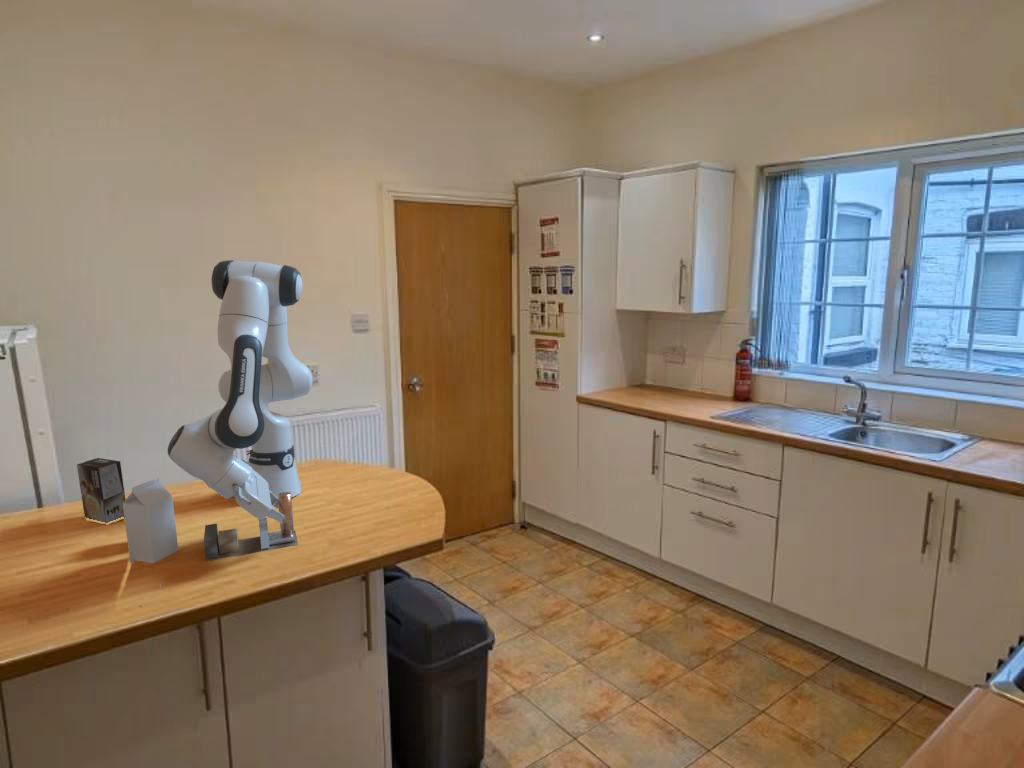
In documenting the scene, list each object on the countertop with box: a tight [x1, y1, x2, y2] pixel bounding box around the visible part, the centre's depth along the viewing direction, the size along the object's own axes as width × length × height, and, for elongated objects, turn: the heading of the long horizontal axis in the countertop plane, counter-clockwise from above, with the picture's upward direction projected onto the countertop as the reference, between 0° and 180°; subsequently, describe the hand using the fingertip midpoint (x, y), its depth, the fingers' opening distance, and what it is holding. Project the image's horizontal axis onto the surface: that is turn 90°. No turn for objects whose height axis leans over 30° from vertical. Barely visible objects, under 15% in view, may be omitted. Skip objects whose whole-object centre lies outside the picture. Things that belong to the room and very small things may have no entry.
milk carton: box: [123, 477, 179, 564], centre depth 147 cm, size 7×7×19 cm
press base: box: [203, 523, 299, 562], centre depth 153 cm, size 20×9×6 cm, turn 113°
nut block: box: [218, 528, 239, 554], centre depth 151 cm, size 4×4×4 cm
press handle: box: [258, 492, 295, 549], centre depth 154 cm, size 8×8×11 cm
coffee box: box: [76, 457, 126, 523], centre depth 172 cm, size 9×6×16 cm
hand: (281, 511), depth 154 cm, fingers open, 8 cm apart
